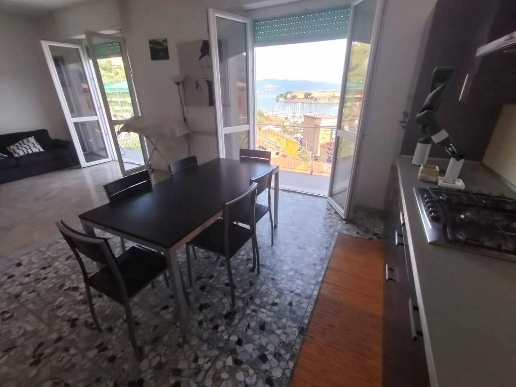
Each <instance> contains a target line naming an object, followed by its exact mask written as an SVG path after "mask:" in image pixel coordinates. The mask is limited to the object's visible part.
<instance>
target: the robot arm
mask: <svg viewBox="0 0 516 387" xmlns="http://www.w3.org/2000/svg"><path fill="white" fill-rule="evenodd" d="M455 72H456V67H454V66H437V67H435V68H434V70H433V72H432V75H431V80H430V85H429V91H428V93H427V94H428V96H426V99H425V100H424V103H423V105H422V107H421V108H420V110H418V112H417V114H416V116H415V117H414V122H415V124H416V125H418V126H419V128H418V133H419V134H421V135H427V136H426V137H422V138H419V139H418V140H417V144H416V147H415V150H414V154H413V159H412V161H411V164H412V165H414V164H415V166H419V165H421V164H424V165H427V164H426V163H427V160H428V157H429V153H430V150H431V147H432V143H433V142H434V143H435V144H436V145H437V147H438V148H440V149H441V148H444V150H445V151H446V152H448V155H451V157H454V158H455V159H456V160H457V161H460V160H461V158H460V157H459V156H458V154H457V153H458V152H457V150H456V148H455V146H454V145H453V144H451V143H453V141H454V139H453V138H452V137H451V136H450V135H449V133H448V132H447V131H446V130H445V129H444V128H443V127H442V126H441V125H440V123H439V121H438V117H437V115H436V114H437V113H439V111H440V109H441V108H442V104H443V102H444V99H443V94H444V93H445V92H446V90H447V88H448V87H449V85H450V84H451V82H452V80H453V78H454V76H455ZM438 84H441V85H440V86H438ZM453 153H455V154H453Z"/></svg>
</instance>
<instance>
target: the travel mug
mask: <svg viewBox="0 0 516 387" xmlns="http://www.w3.org/2000/svg"><path fill="white" fill-rule="evenodd" d="M456 153H457V154H458V156H459V157H460V158H461V160H460V161H457V160H456V159H455V158H454V157H452V156H451V158H450V161H449V163H448V166H447V169H446V171H445V172H446V173H445V175H444V177H445V178H444V180H443V182H444V183H448V184H455V183H456V180H457V179H459V178H458V177H459V175H460V172H461V169H462V167H463V164H464V161H465V158H466V156H467V155H468V154H467V152H456ZM453 154H455V153H453Z"/></svg>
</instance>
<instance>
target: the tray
mask: <svg viewBox="0 0 516 387" xmlns="http://www.w3.org/2000/svg"><path fill="white" fill-rule="evenodd" d="M444 178H445V176H440V175H438V176H437V179H436V183H437V186H438V187H439V186H440V187H441V188H446V187H447V189H452V188H453V189H454V190H459V189H461V191H464V190H465V188H466V185H465V183H464V182H463V180H462V179H461V178H457V180H456V183H455V184H448V183H444V182H443V180H444Z"/></svg>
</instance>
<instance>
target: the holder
mask: <svg viewBox="0 0 516 387" xmlns="http://www.w3.org/2000/svg"><path fill="white" fill-rule="evenodd" d="M439 174H440V169H439V166H438V165H430V164H425V165H424V164H421V166H419V170H418V174H417V177H418V178H417V179H418V180H420V181H427V182H433V183H437V180H436V179H437V176H439Z"/></svg>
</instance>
